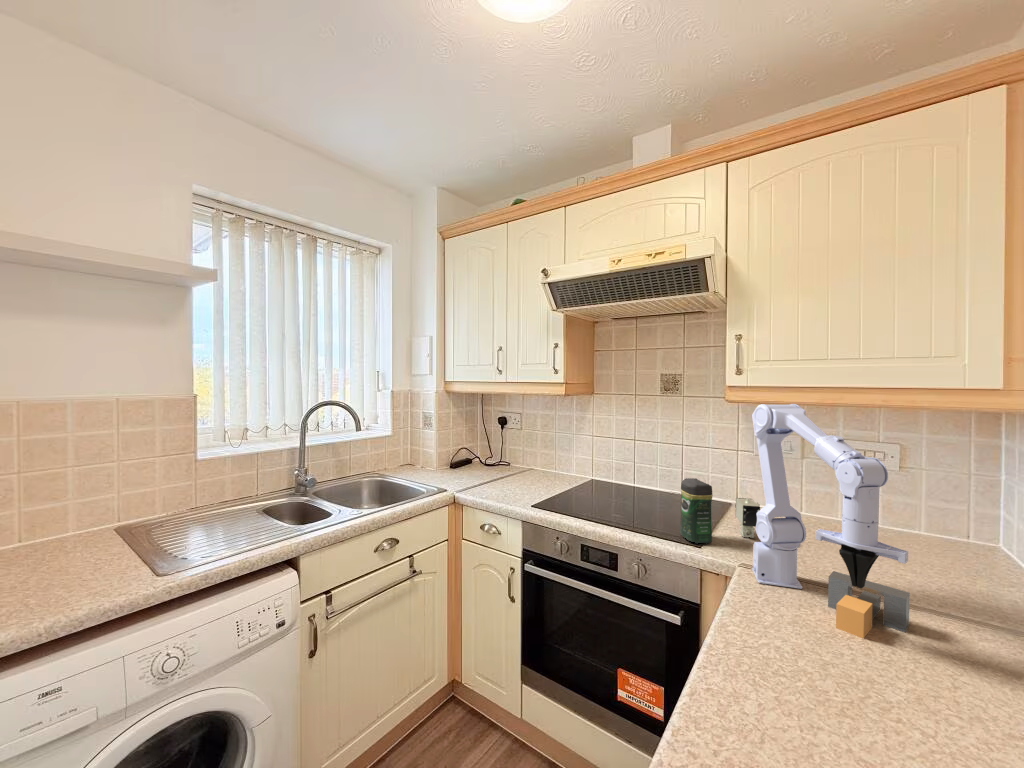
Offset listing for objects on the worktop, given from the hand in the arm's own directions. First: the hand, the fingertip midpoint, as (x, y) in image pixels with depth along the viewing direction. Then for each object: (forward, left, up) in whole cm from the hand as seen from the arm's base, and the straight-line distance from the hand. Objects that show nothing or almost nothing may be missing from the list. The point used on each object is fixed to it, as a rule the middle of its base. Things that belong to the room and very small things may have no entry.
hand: (858, 585), depth 88 cm
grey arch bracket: (+4, +8, -9) cm, 13 cm away
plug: (+3, +6, -10) cm, 11 cm away
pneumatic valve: (-11, +50, -10) cm, 52 cm away
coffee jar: (-27, +42, -10) cm, 51 cm away
